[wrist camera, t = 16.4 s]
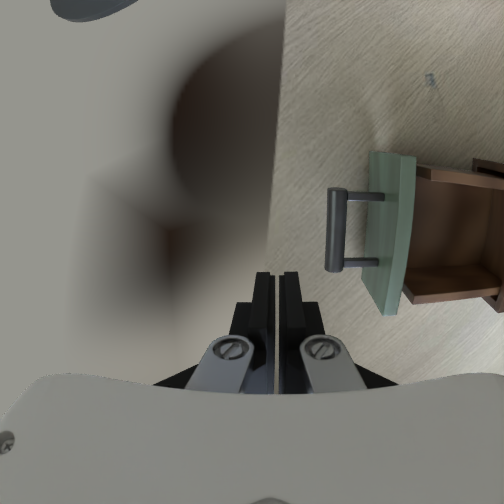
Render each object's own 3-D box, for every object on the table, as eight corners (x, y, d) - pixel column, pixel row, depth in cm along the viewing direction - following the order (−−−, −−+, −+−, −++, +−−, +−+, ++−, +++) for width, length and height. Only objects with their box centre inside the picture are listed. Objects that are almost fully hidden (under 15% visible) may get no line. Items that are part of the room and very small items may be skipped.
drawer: (316, 280, 25) (327, 320, 19) (319, 148, 21) (336, 150, 15) (476, 272, 24) (508, 300, 18) (491, 167, 20) (533, 178, 14)
